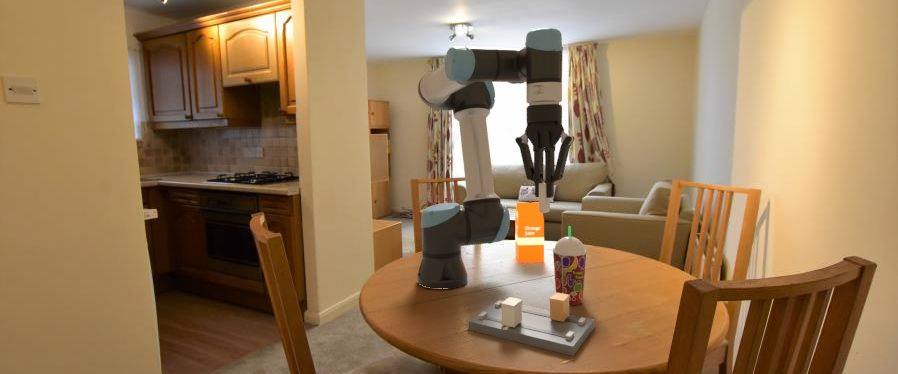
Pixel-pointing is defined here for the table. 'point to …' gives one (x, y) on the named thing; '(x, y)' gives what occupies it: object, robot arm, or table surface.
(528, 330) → the fader console
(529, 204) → the orange juice
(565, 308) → the orange fader
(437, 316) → the table surface
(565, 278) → the smoothie
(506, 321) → the cream fader
